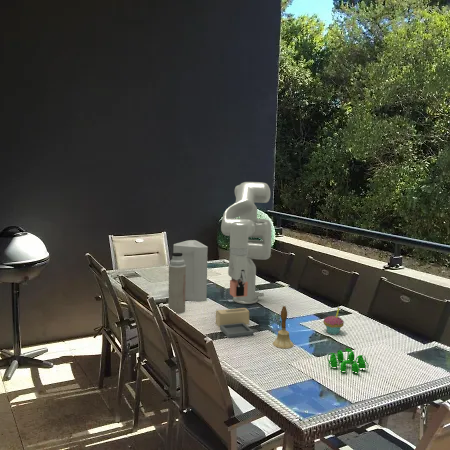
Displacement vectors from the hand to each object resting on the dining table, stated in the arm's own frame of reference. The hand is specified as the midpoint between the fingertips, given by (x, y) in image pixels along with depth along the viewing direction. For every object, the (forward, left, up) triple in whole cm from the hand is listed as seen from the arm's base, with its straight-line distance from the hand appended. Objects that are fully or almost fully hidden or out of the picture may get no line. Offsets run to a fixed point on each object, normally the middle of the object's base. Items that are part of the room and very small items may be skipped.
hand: (237, 293), depth 213 cm
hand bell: (-13, +18, -17) cm, 28 cm away
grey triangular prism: (+6, -54, -17) cm, 57 cm away
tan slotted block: (-2, -10, -17) cm, 20 cm away
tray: (0, 0, -17) cm, 17 cm away
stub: (-1, 0, -1) cm, 1 cm away
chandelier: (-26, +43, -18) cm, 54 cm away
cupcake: (-40, +12, -17) cm, 45 cm away
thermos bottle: (+17, -34, -17) cm, 42 cm away
